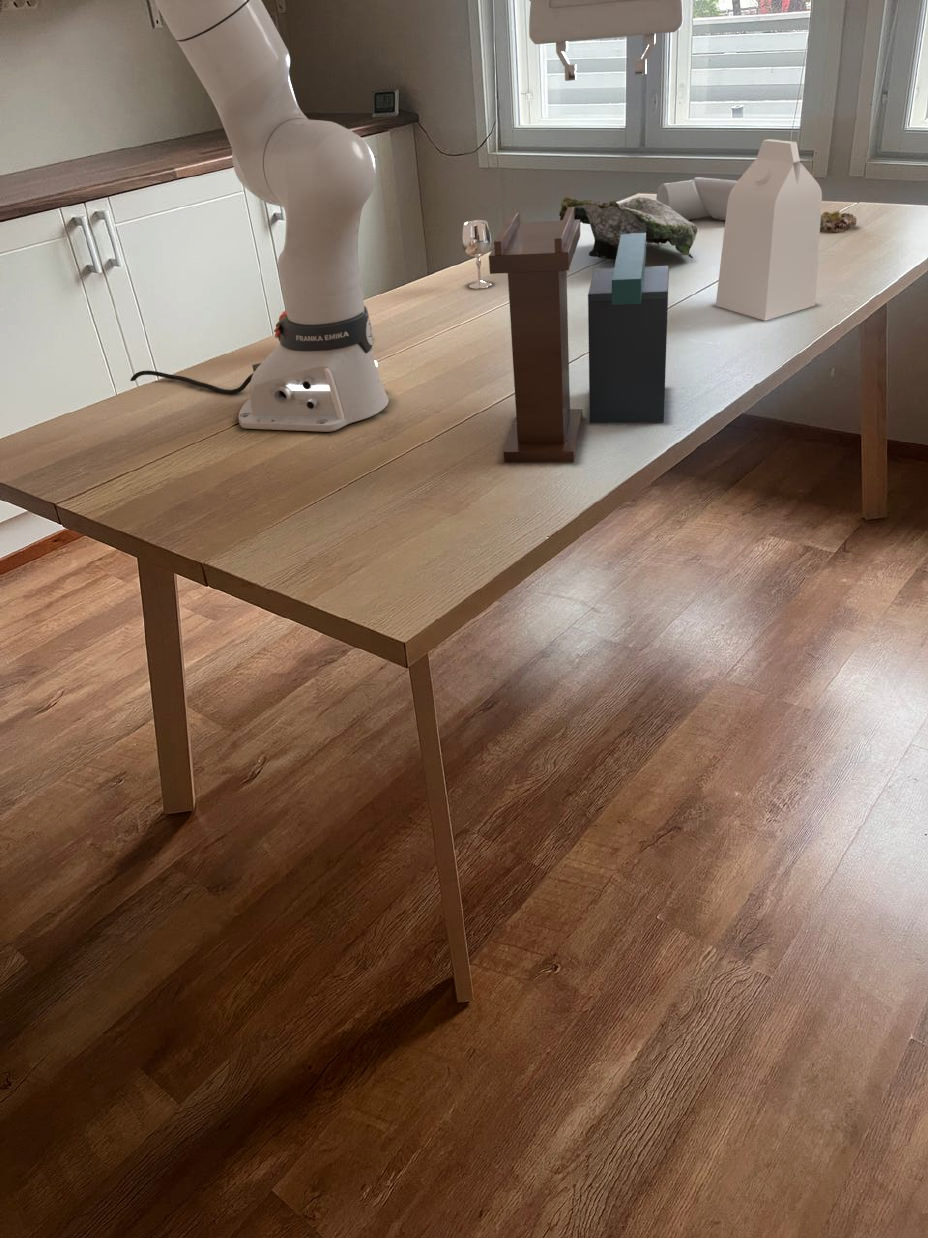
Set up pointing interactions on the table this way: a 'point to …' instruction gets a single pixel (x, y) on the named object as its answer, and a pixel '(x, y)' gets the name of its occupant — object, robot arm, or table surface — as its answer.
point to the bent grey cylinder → (697, 197)
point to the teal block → (629, 269)
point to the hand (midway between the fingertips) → (605, 77)
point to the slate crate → (627, 350)
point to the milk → (771, 236)
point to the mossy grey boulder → (631, 224)
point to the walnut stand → (539, 335)
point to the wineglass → (477, 245)
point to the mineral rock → (837, 221)
